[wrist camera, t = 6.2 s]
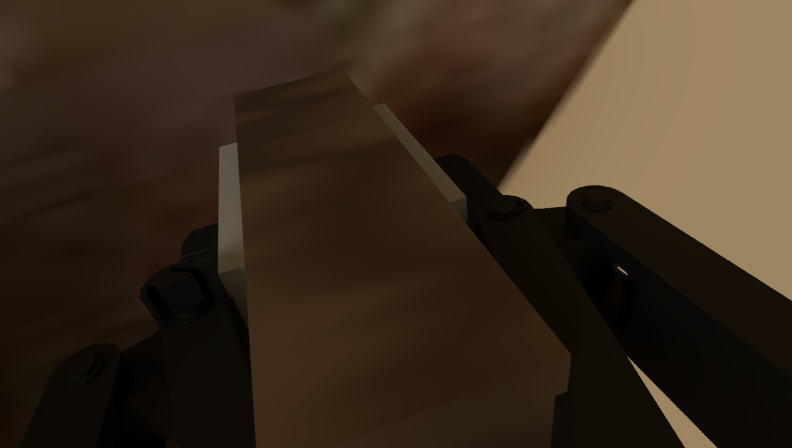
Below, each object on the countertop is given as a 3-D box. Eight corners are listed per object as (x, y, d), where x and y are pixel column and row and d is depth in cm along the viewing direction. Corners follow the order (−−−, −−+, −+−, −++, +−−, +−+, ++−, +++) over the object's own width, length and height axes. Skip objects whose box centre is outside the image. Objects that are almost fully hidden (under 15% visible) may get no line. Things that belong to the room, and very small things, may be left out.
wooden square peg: (269, 190, 19) (337, 592, 8) (234, 95, 16) (258, 475, 5) (362, 163, 19) (554, 496, 8) (342, 68, 17) (571, 355, 6)
